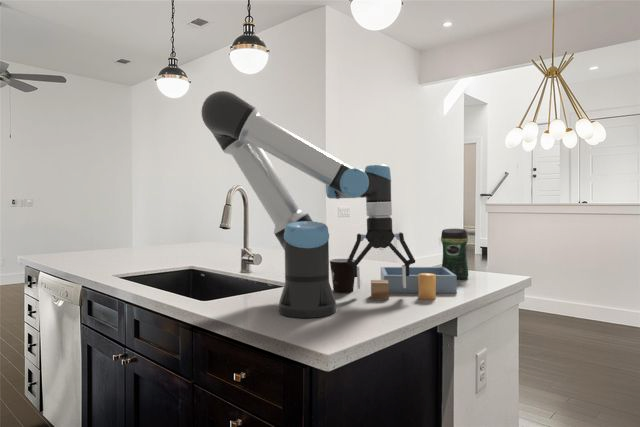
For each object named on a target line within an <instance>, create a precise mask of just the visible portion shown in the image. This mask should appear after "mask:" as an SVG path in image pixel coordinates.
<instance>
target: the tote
mask: <svg viewBox="0 0 640 427" xmlns="http://www.w3.org/2000/svg"><path fill="white" fill-rule="evenodd" d="M421 273H431V274H435V275H436V294H457V290H458V287H457V286H458V283H457V282H458V281H457V280H458V279H457V276H456V275H455V274H454V273H452V272H451V271H449V270H448V269H446V268H445V267H442V266H409V276H406V288H403V284H402V266H380V280H388V282H389V294H418V274H421Z"/></svg>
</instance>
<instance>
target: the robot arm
mask: <svg viewBox="0 0 640 427" xmlns="http://www.w3.org/2000/svg"><path fill="white" fill-rule="evenodd" d="M200 114H201V118H202V122H203V124H204V125H205V126H206V127H207V128H208V130H209V131H210V132H211V134H212V135H213V137H214V138H215V140H216V142H217V143H218V145H219V146H220V148H221V150H222V151H223V153H224V154H227V155H230V156H232V157H233V159H234V161H235V163H236V164H237V165H238V168H239V169H240V171H241V172H242V174H243V175H244V178H245V179H246V180H247V182H248V184H249V186H250V187H251V188H252V190H253V192H254V193H255V195H256V196H257V198H258V200H259V201H260V203H261V205H262V206H263V208H264V210H265V211H266V213H267V214H268V215H269V219H271V222H272V223H273V224H274V229H273V234H274V236H275V237H276V239H277V241H278V242H279V244H280V246H281V247H282V249H283V251H284V286H283V288H282V292H281V295H280V298H279V303H278V313H279V314H280V315H282V316H286V317H289V318H295V319H296V318H298V319H310V318H311V319H312V318H313V319H314V318H320V317H321V318H322V317H327V316H330V315H332V314H335V312H336V311H337V301H336V298H335V295H334V291H333V288H332V287H331V284H330V259H329V258H330V255H329V254H330V253H329V252H330V250H329V249H330V248H329V247H330V246H329V240H330V232H329V227H328V225H327V224H326V223H324V222H318V221H314V220H313V219H312V218H311V216H310V214H309V213H308V212H307V211H304V210H301V209H300V208H299V206H298V204H297V202H296V201H295V199H294V198H293V196H292V195H291V192H290V191H289V190H288V188H287V186H286V184H285V183H284V182H283V180H282V178H281V177H280V175H279V174H278V172H277V170H276V168H275V167H274V164H272V162H271V160H270V158H269V157H268V155H267V153H268V154H270V155H272V156H274V157H275V158H277V159H279V160H281V161H282V162H284V163H286V164H288V165H290V166H292V167H293V168H295V169H297V170H299V171H300V172H303V173H304V174H306V175H308V176H310V177H312V178H313V179H315V180H317V181H318V182H321V183H322V184H324V185H325V195H326V197H327V198H328V199H336V200H339V199H357V198H365V202H366V204H365V205H366V206H365V207H366V217H367V219H366V233H365V234H364V233H357V234H356V241H355V242H354V245H353V247H352V250H351V252H350V254H349V256H348V258H347V259H348V260H347V264H348V265H351V266H352V267H353V276H354V277H355V278H356V280H357V282H356V284H357V289H358V290H360V289H361V280H360V279H361V276H360V275H361V273H360V265H359V264H360V263H361V262H362V260H363V259H364V257H366V255H367V253H369V252H370V250H372V248H373V249H380V248H381V249H386V248H389V249H390V250H392V252H393V253H394V254H395V255H396V256H397V258H399V260H401V261H402V263H403V264H401V267H402V284H403V288H406V276H409V267H410V266H411V265H412V264H415V263H416V259H415V258H414V256H413V254H412V252H411V250H410V248H409V247H408V244H407V243H406V241H405V237H404V233H403V232H401V231H399V232H397V233H396V232H395V233H394V232H393V218H392V217H391V216H392V215H393V212H392V211H393V206H392V204H393V202H392V176H391V175H392V174H391V168H390V166H389V165H386V164H372V165H371V164H370V165H366V166H365V169H364V170H363V169H360V168H358V167H357V168H356V167H352V166H351V165H349V164H348V163H345V162H343V161H342V160H340V159H339V158H338V157H335V156H333V155H332V154H330V153H328V152H326V151H325V150H322V149H321V148H319V147H318V146H315V145H313V144H312V143H311V142H309V141H307V140H305V139H303V138H302V137H300V136H298V135H296V134H295V133H293V132H291V131H289V130H287V129H286V128H284V127H282V126H280V125H278V124H276V122H274V121H271V120H270V119H268V118H266V117H265V116H263V115H261V114H260V112H259V109H258V107H257V108H256V107H255V106H253V105H251V104H250V103H248V102H247V101H245V100H244V99H242V98H240V96H237V95H236V94H235V93H233V92H230V91H225V90H223V91H221V90H219V91H216V92H213V93H211V94H209V95H208V96H207V97H206V98H205V99H204V102H203V103H202V107H201V112H200ZM265 152H267V153H265ZM394 238H396V240H397V241H399V243H400V245H401V246H402V248H403V250H404V252H405V253H406V255H407V257H408V259H407V258H406V257H404V256H403V254H402V253H401V252H400V251H399V250H398V248H396V246H395V245H394V244H393V243H392V241H393V240H394ZM365 239H366V240H367V242H368V243H367V245H366V246H365V247H364V249H363V250H362V251H361V252H360V254H358V256H357V257H356V258H355V255H356V253H357V251H358V249H359V247H360V245H361V242H364V240H365ZM353 259H355V261H352V260H353Z"/></svg>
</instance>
